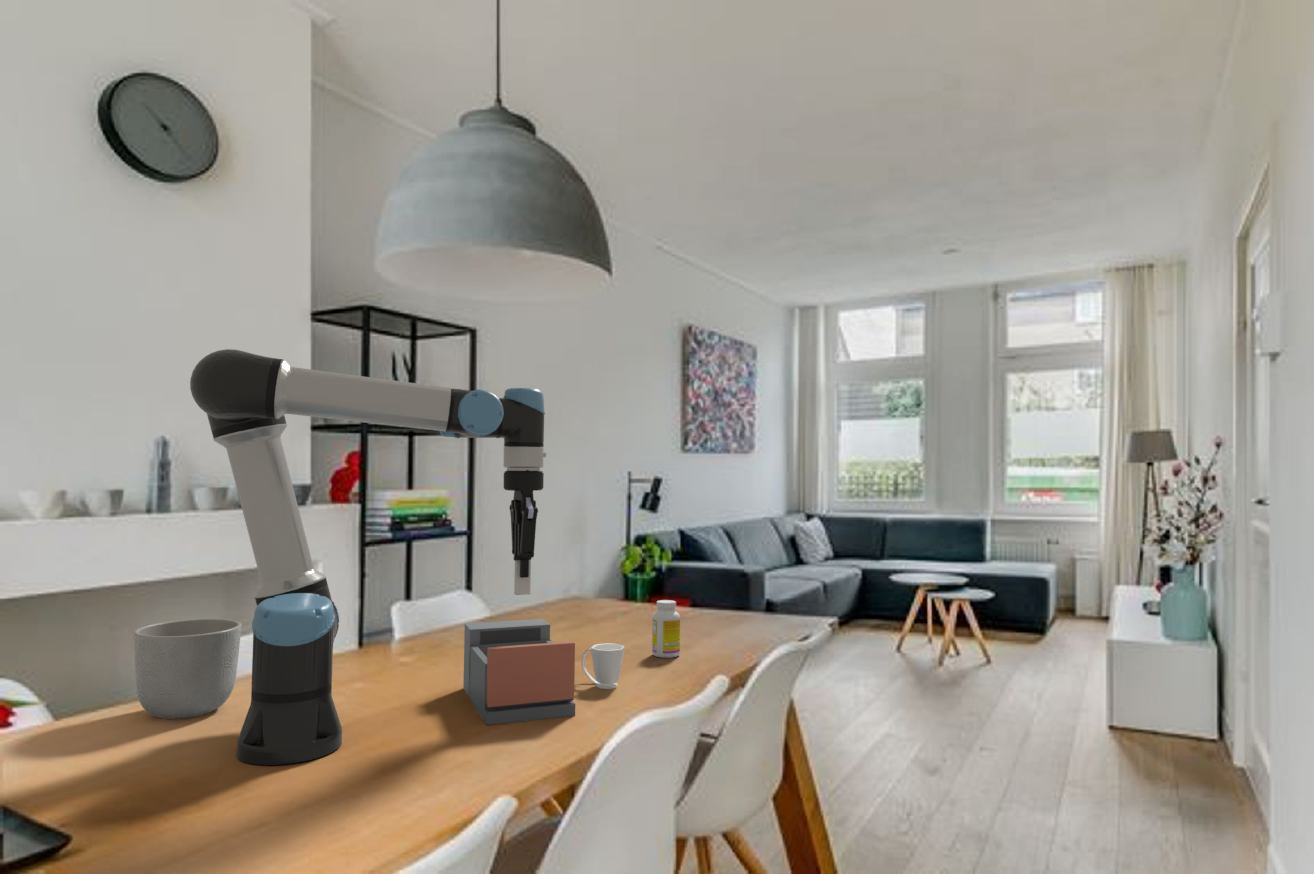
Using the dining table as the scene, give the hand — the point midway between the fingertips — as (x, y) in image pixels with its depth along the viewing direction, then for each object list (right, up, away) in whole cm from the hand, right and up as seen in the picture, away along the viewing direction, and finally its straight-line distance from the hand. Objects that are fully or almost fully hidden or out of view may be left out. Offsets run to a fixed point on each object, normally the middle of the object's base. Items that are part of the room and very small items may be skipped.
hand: (522, 593), depth 154 cm
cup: (+14, -22, +14) cm, 29 cm away
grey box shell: (-5, -21, +10) cm, 24 cm away
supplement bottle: (+28, -23, +41) cm, 54 cm away
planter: (-59, -20, -8) cm, 63 cm away
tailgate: (+3, -18, -9) cm, 20 cm away
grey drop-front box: (0, -21, -2) cm, 21 cm away
